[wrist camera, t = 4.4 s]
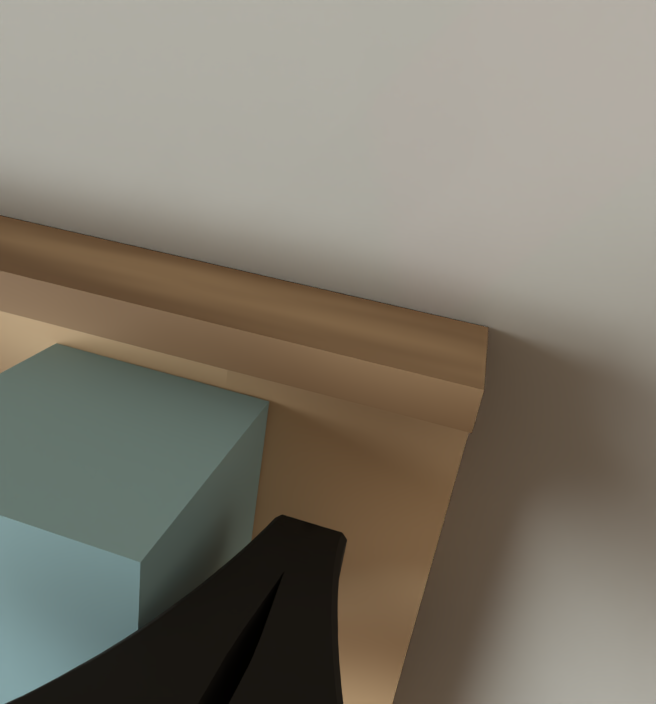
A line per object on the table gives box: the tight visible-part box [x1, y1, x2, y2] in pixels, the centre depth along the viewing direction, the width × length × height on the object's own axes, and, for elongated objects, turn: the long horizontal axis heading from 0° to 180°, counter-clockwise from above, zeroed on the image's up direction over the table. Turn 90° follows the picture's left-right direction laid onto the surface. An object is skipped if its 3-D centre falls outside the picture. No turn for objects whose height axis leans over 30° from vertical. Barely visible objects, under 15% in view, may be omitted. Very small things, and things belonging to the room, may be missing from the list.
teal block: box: [0, 343, 269, 704], centre depth 11 cm, size 4×4×4 cm
